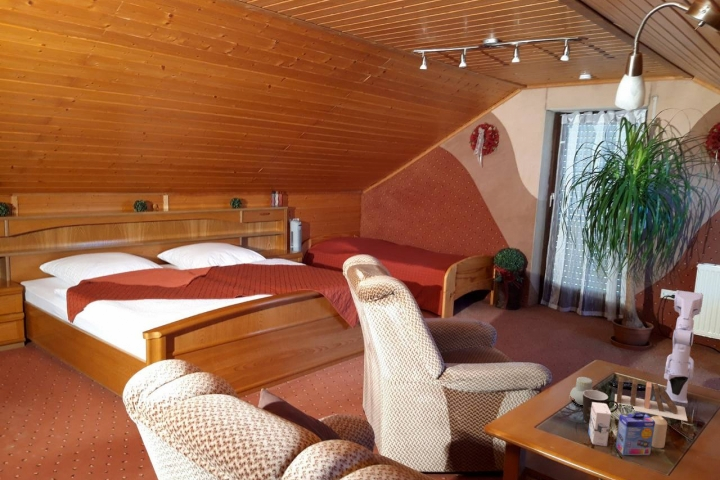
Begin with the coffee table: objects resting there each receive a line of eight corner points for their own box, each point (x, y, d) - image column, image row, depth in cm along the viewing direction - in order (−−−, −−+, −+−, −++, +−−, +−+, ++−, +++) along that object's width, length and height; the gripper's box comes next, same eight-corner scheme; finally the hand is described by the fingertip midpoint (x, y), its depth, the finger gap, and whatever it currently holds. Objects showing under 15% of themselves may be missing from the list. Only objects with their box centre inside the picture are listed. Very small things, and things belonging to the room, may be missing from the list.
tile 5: (616, 402, 227) (618, 381, 226) (616, 398, 232) (619, 376, 230) (620, 403, 227) (623, 382, 225) (621, 398, 231) (623, 377, 230)
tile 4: (630, 405, 225) (632, 383, 224) (630, 400, 230) (632, 379, 228) (634, 406, 225) (637, 384, 223) (634, 401, 229) (637, 380, 228)
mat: (614, 394, 236) (615, 393, 236) (684, 407, 225) (684, 407, 225) (614, 407, 224) (614, 406, 224) (687, 421, 214) (687, 420, 214)
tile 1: (673, 414, 219) (659, 393, 220) (672, 408, 224) (659, 388, 225) (677, 412, 218) (663, 391, 219) (676, 407, 223) (662, 386, 224)
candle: (649, 438, 200) (653, 411, 199) (666, 444, 197) (670, 417, 195) (643, 443, 197) (647, 416, 195) (661, 450, 193) (664, 422, 191)
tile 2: (658, 411, 221) (653, 388, 221) (658, 406, 226) (653, 383, 225) (663, 410, 220) (658, 388, 220) (662, 405, 225) (657, 383, 225)
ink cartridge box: (623, 456, 188) (627, 414, 186) (614, 447, 194) (618, 407, 191) (651, 455, 189) (657, 414, 187) (642, 446, 194) (647, 406, 192)
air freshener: (575, 396, 233) (577, 372, 232) (596, 401, 229) (599, 377, 227) (567, 405, 225) (569, 381, 223) (589, 411, 220) (592, 386, 218)
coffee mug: (576, 420, 212) (579, 394, 211) (585, 412, 219) (588, 387, 217) (608, 431, 205) (611, 405, 203) (617, 423, 211) (620, 397, 209)
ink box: (587, 432, 203) (591, 401, 201) (603, 434, 202) (606, 403, 200) (592, 444, 195) (595, 412, 193) (608, 446, 194) (611, 414, 192)
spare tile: (644, 408, 223) (647, 386, 222) (644, 403, 228) (646, 381, 226) (648, 409, 223) (651, 387, 221) (648, 404, 227) (651, 382, 226)
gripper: (681, 354, 225) (677, 386, 227) (658, 359, 218) (654, 393, 220) (699, 360, 219) (694, 393, 221) (675, 366, 212) (671, 400, 214)
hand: (675, 394), depth 220 cm, fingers closed
